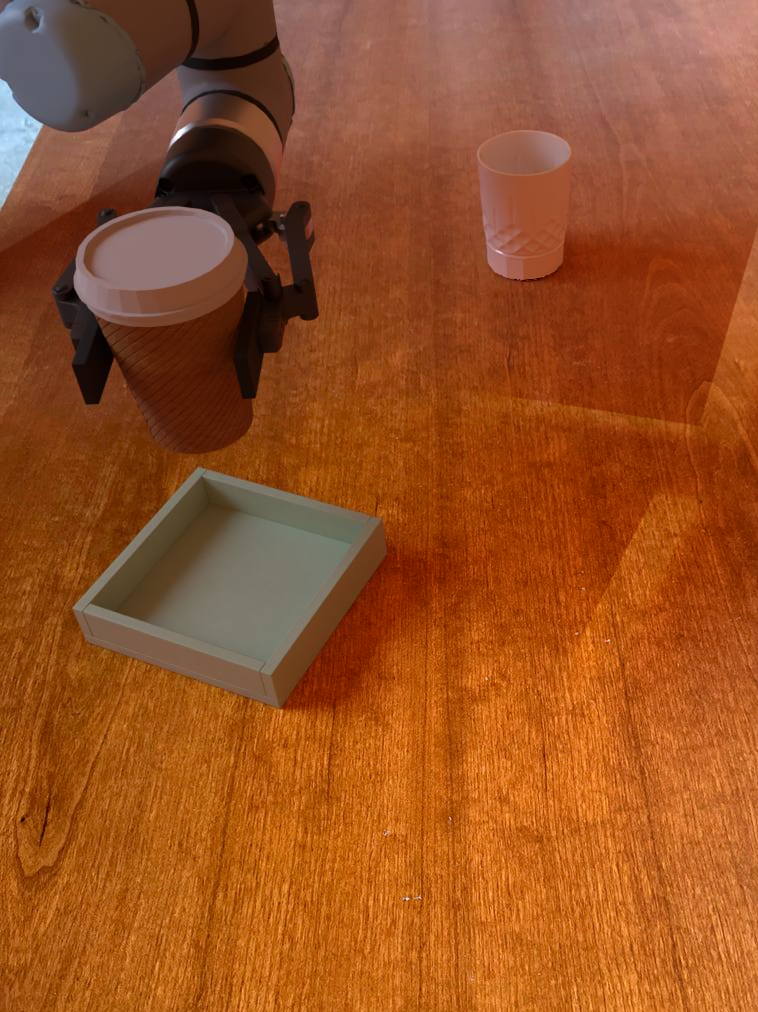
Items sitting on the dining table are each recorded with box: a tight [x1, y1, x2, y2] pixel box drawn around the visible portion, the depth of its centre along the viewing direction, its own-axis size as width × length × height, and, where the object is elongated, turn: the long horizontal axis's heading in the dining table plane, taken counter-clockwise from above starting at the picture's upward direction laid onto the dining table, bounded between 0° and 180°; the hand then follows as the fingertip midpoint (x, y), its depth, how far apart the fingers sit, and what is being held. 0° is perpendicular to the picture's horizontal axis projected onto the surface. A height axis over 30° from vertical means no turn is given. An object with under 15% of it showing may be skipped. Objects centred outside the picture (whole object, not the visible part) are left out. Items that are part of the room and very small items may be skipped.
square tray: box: [72, 466, 388, 709], centre depth 78 cm, size 15×15×3 cm
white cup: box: [476, 129, 573, 281], centre depth 101 cm, size 8×8×10 cm
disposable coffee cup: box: [74, 206, 254, 455], centre depth 69 cm, size 10×10×12 cm
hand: (164, 381), depth 65 cm, fingers closed on disposable coffee cup, 8 cm apart
